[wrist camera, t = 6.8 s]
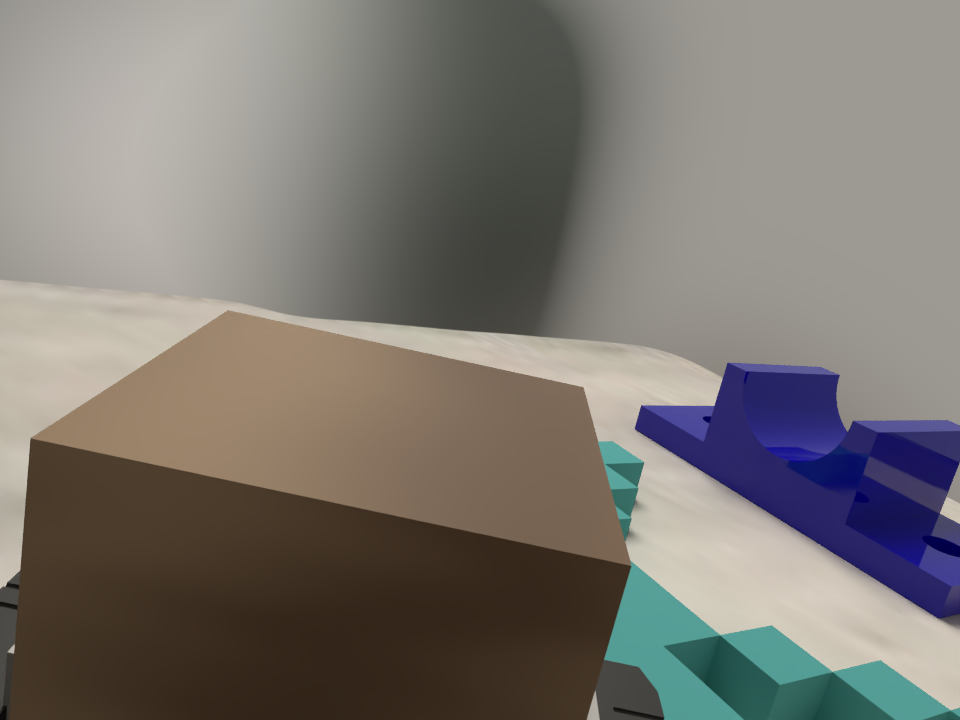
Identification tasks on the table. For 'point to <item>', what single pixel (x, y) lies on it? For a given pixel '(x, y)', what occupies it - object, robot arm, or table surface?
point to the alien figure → (739, 654)
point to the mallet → (316, 539)
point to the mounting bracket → (830, 473)
